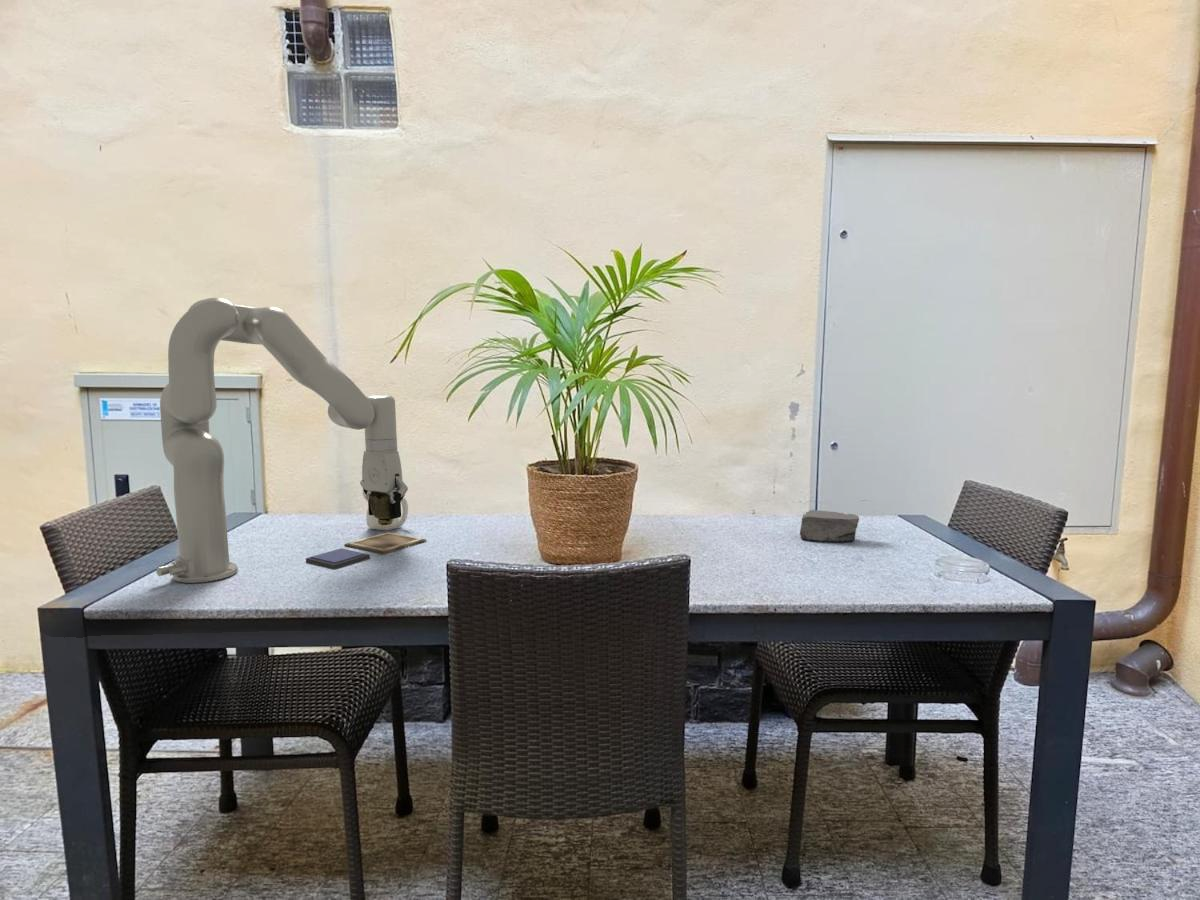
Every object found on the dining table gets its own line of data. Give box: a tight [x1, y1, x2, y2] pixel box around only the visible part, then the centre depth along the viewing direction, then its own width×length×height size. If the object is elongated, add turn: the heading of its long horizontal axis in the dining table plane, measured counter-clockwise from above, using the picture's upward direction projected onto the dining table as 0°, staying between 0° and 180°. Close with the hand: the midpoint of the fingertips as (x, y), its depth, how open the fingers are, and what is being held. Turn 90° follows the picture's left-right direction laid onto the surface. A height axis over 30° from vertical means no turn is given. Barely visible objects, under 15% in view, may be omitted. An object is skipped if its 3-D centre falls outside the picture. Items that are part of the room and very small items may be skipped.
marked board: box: [344, 531, 427, 555], centre depth 194 cm, size 14×14×1 cm
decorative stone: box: [799, 509, 860, 544], centre depth 197 cm, size 15×7×10 cm
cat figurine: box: [362, 490, 409, 531], centre depth 209 cm, size 9×12×15 cm
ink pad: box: [305, 548, 371, 570], centre depth 180 cm, size 10×10×1 cm
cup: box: [368, 492, 396, 525], centre depth 193 cm, size 8×7×8 cm
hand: (384, 515), depth 193 cm, fingers closed on cup, 7 cm apart
